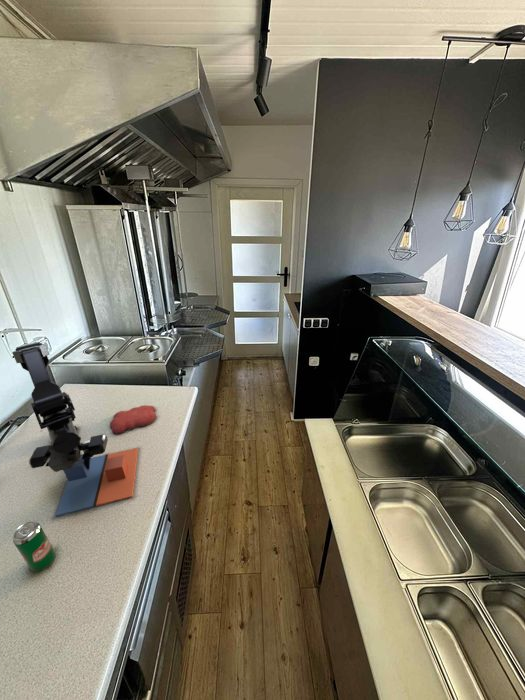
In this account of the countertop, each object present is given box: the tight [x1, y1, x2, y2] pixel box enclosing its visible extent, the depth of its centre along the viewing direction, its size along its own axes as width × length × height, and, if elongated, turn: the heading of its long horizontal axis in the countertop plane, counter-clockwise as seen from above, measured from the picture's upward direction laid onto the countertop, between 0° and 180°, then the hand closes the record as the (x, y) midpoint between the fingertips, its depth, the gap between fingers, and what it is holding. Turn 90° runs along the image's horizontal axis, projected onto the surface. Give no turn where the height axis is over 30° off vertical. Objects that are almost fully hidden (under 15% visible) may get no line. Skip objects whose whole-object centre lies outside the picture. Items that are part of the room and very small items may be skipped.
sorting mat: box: [54, 447, 139, 517], centre depth 91 cm, size 20×20×1 cm
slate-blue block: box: [63, 453, 91, 482], centre depth 87 cm, size 5×5×5 cm
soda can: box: [12, 520, 56, 572], centre depth 67 cm, size 5×5×12 cm
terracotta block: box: [105, 455, 127, 482], centre depth 91 cm, size 5×5×5 cm
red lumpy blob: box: [109, 405, 157, 435], centre depth 116 cm, size 18×14×2 cm
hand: (79, 470), depth 87 cm, fingers closed on slate-blue block, 5 cm apart
